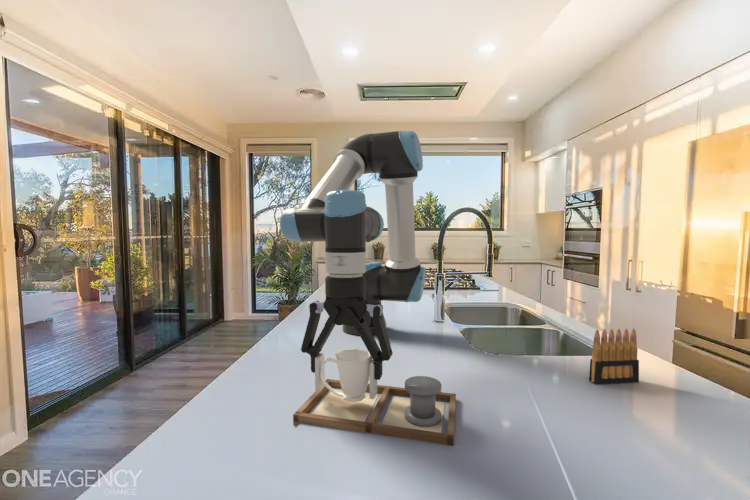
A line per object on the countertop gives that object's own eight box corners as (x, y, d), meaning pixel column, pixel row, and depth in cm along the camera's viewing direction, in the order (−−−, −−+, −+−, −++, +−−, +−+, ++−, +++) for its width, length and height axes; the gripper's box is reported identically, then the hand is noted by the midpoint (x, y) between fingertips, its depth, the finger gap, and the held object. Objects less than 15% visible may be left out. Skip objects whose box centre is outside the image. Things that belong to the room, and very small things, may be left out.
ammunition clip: (594, 384, 74) (596, 330, 74) (588, 381, 76) (590, 328, 76) (639, 382, 76) (641, 329, 75) (632, 379, 78) (633, 327, 77)
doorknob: (407, 405, 64) (407, 374, 64) (442, 410, 62) (442, 378, 62) (401, 424, 58) (401, 389, 57) (439, 429, 56) (440, 393, 56)
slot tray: (327, 387, 73) (327, 378, 73) (455, 402, 66) (455, 393, 66) (293, 424, 59) (293, 414, 59) (453, 449, 52) (453, 438, 52)
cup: (369, 407, 60) (369, 362, 60) (315, 403, 61) (314, 359, 61) (374, 389, 67) (374, 348, 67) (325, 386, 68) (325, 346, 68)
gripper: (280, 275, 62) (282, 393, 63) (402, 279, 57) (401, 409, 58) (299, 271, 70) (301, 377, 71) (409, 274, 64) (408, 390, 65)
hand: (346, 392), depth 64 cm, fingers closed on cup, 10 cm apart
